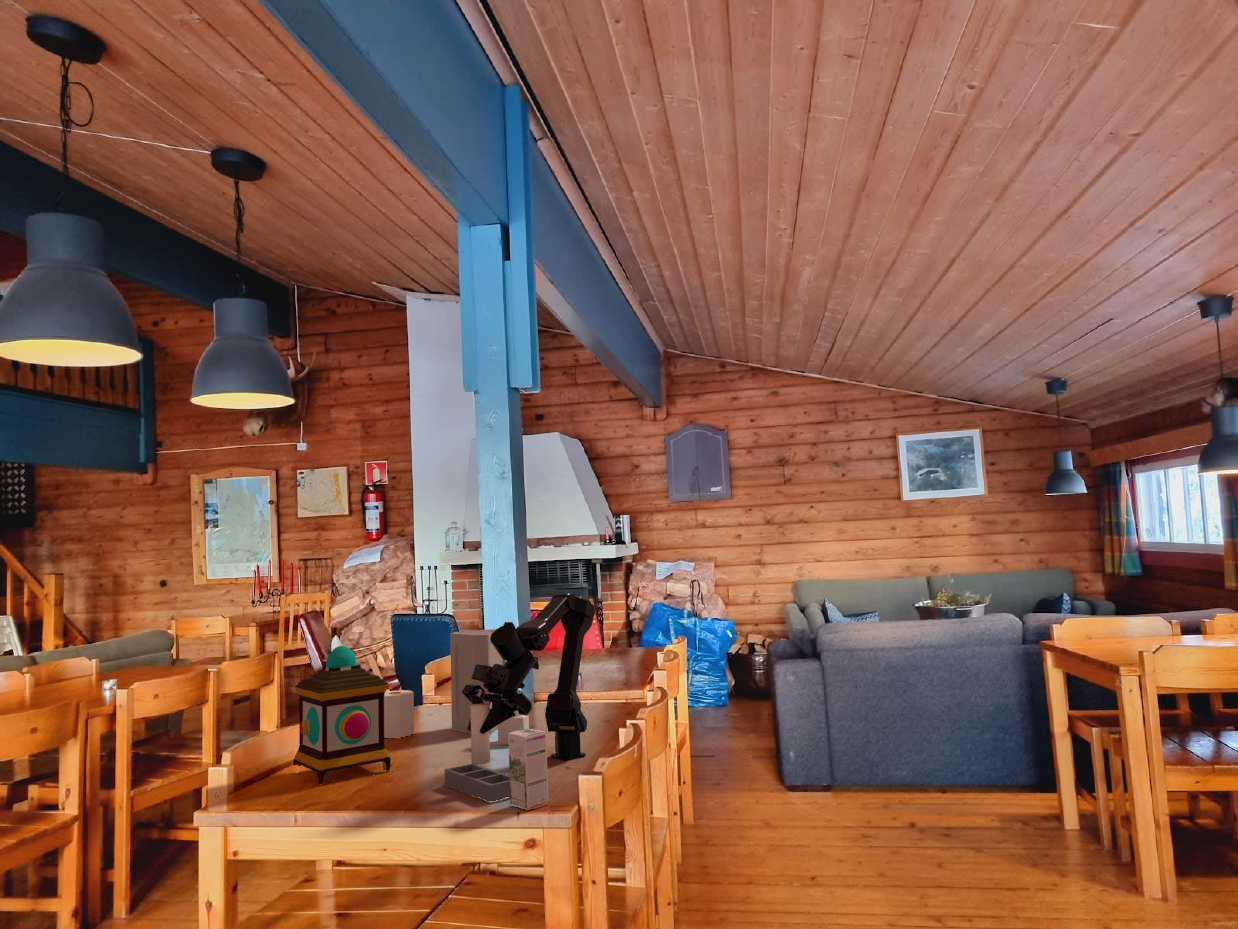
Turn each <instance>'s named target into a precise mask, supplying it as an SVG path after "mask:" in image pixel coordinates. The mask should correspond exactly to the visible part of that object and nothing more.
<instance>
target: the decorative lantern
mask: <svg viewBox="0 0 1238 929" xmlns="http://www.w3.org/2000/svg"><path fill="white" fill-rule="evenodd" d="M388 687H389V683H388V682H387V681H386V680H385V679H383V678H381V676H380V675H377V674H371V673H370V672H368V671H366V669H365V668H362V666H361V664H357V657H356V654H355V653H354V652H353V650H352V649H350V648H349V647H347V646H345V645H338V646H336V647H335V648H334V649H332V650H331V652H330V653H329V654H328V655H327V657H326V664H325V665H322V666H321V669H319V670H317V672H316V673H314V674H313V675H311V676H308V677H304V678H303V679H302V680H301V681H299V682H298V683H297V685H295V686H294V689H295V691H296V693H297V695H298V698H299V699H298V700H299V708H298V709H299V715H298V716H299V719H298V721H299V732H298V733H299V735H298V736H299V741H298V743H299V745H298V750H297V752H296V754H295V755H294V758H293V761H292V762H293V763H292V764H293V766H294V765H298V766H301V767H304V768H306V769H307V770H308V769H309V770H311V771H313V772H314V773H316V776H317V783H318V785H319V784H323V785H324V784H325V782H326V781H325V779H326V776H327V774H328V773H330V772H337V771H341V770H345V769H350V768H355V767H360V766H366V765H370V764H376V763H381V762H382V769H383V771H384V770H386V771H387V770H389V771H390V769H391V764H392V763H391V762H392V761H391V759H392V758H391V756H390V754H389V751H388V750H387V747H386V746H385V739H384V694H385V692H387V689H388Z"/></svg>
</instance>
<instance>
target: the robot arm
mask: <svg viewBox="0 0 1238 929" xmlns="http://www.w3.org/2000/svg"><path fill="white" fill-rule="evenodd" d="M595 607H596V606H595V605H594V604H593V603H592V602H591V601H590V600H589V599H584V598H581V597H577V596H575V594H571V593H569V592H568V593H555V594H554V595H552V597H551V600H550V601H549V602H548V603H547V604H546V605H545V606H544V607H543V608H542V610H540V611H539V612H538V614H537V615H536V616H535V617H534V618H533V619H531V620H528V621H525V622H523V623H521V624H520V625H518V626H517V627H516V625H515V623H514V622H513V621H504V623H503V625H501V626H499V627H498V628H495V629H496V630H495V631H494V632H493V633H492V634H491V637H490V640H491V643H492V644H493V646H494V647H495V649H496V650H497V652H498V653H499V655H500V656H501V658H502V659H504V660H506V662H505V664H504V665H500V664H494V665H493V666H492V667H491V666H486V665H477V664H476V665H475V668H474V671H473V674H472V677H471V679H473V680H475V679H476V680H478V681H481V682H483V683H484V684H483V686H484V687H485V688H486V689H488V692H486V691H485V690H484V689H483V688H482V687H481V686H480V685H474V684H468V685H466V686H465V687H464V689H463V690H462V694H463V695H464V696H465V697H466V698H467V699H468V700H469V701H470V702H471V703H472V704H482V703H484V704H489V705H490V704H491V702H492V708H491V709H490V708H489V714H488V716H487V717H486V719H485V721H484V723H483V725H482V727H481V729H480V733H481V734H484V733H486V732H488V731H489V730H491V729H492V728H494V727H495V726H497V725H499V724H500V723H502V722H504V721H506V720H507V719H509V718H511V717H515V713H514V712H515V710H516V708H519V709H518V713H519V714H520V715H525V716H528V714H530V713H531V711H532V709H533V706H532V705H533V704H532V701H530V699H529V698H528V697H527V696H526V695H525V694H524V693H523V691H522V690H523V689H524V688H525V686H526V684H525V683H524V681H525V679H526V678H527V676H528V674H529V673H530V672H531V670H532V669H533V670H539V669H540V664H539V657H537V656H534V654H533V653H532V652H542V651H544V649H545V648H546V646H547V645H548V643H549V642H550V639H551V638H550V633H551V631H552V630H553V629H554V627H556V625H557V624H558V623H559V622H561V625H562V627H563V630H564V631H565V632H564V633H565V634H564V639H563V648H562V653H561V660H560V665H559V673H558V679H557V680H558V681H557V685H556V689H555V690H554V691H553V692H552V693H549V694H548V695H547V699H546V700H547V703H546V707H545V709H544V710H545V712H544V717H545V721H546V728H547V731H548V732H550V733H551V732H553V733H554V748H555V750H554V751H555V753H551V754H550V757H552V758H556V759H560V760H563V761H568V760H571V759H572V760H573V759H577V758H581V757H585V756H586V753H585V752H582V750H581V748H582V747H581V733H585V732H586V730H587V729H588V720H587V718H586V716H585V715H584V713H583V712H582V709H581V708H582V703H581V700H580V697H579V696H578V692H577V690H578V683H579V682H578V681H579V675H580V669H581V668H580V666H581V659H582V655H583V654H582V653H583V646H584V639H585V635H586V634H587V632H588V631H589V630H590V628H592V625H593V621H594V618H595V615H596V608H595ZM520 689H522V690H520ZM467 729H468V730H469V731H470V732H471V717H470V721H469V724H468V728H467Z"/></svg>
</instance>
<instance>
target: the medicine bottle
mask: <svg viewBox="0 0 1238 929" xmlns="http://www.w3.org/2000/svg"><path fill="white" fill-rule="evenodd" d="M518 709H519V708H516V710H515V712H514V713H515V717H511V718H509V719H507V720H506V721H504V722H502V723H500V724H499V725H498V731H497V745H499V746H509V743H508V733H511V732H514V731H517V730H522V729H530V720H529V718H530V717H529V714H530V713H529V714H528V716H525V715H520V714H519V713H518Z"/></svg>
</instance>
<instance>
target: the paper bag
mask: <svg viewBox="0 0 1238 929" xmlns="http://www.w3.org/2000/svg"><path fill="white" fill-rule="evenodd" d="M496 629H497V628H493V629H491V628H490V629H480V630H478V629H477V630H467V631H454V632H450V633H449V635H450V638H449V639H450V640H449V641H450V646H449V647H450V686H451V687H450V690H451V693H450V695H451V696H450V697H451V700H450V701H451V730H452V729H453V731H456V732H461V733H464V734H468V735H471V732H470V731H469V730H468V729H467V728H468V724H469V721H470V717H471V710H470V706H471V705H473V704H472V703H471V702H470V701H469V700H468V699H467V698H466V697H465V696H464V695H463V694H462V690H463V689H464V687H465V686H466V685H468V684H474V685H480V686H481V687H482V688H483V689H484V690H485V691H486V692H488V689H486V688H485V687H484V686H483V684H484V683H483V682H481V681H478V680H476V679H475V680H473V679H471V677H472V674H473V671H474V668H475V665H476V664H477V665H486V666H491V667H492V666H493V665H494V664H500V665H504V664H505V662H506V660H504V659H502V658H501V656H500V655H499V653H498V652H497V650H496V649H495V647H494V646H493V644H492V643H491V640H490V637H491V634H492V633H493V632H494V631H495V630H496ZM489 708H490V709H491V708H492V702H491V704H490V705H489ZM496 730H498V725H497V726H495V727H494V728H492V729H491V730H490V736H491V735H493V734H494V733H496V732H497V731H496ZM495 731H496V732H495ZM493 732H494V733H493ZM492 733H493V734H492Z"/></svg>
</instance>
